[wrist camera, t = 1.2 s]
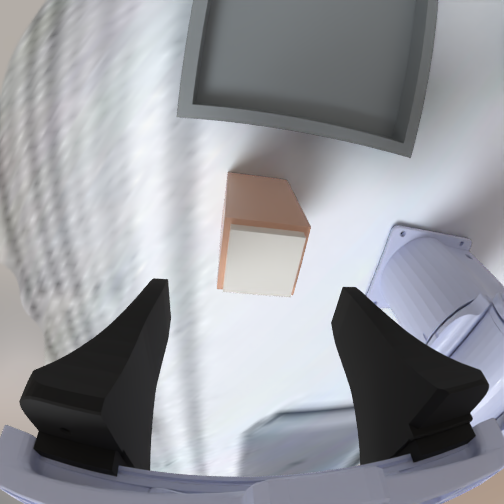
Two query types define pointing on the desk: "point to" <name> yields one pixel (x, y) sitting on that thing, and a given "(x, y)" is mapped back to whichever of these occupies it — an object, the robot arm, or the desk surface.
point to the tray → (312, 67)
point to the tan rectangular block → (261, 237)
